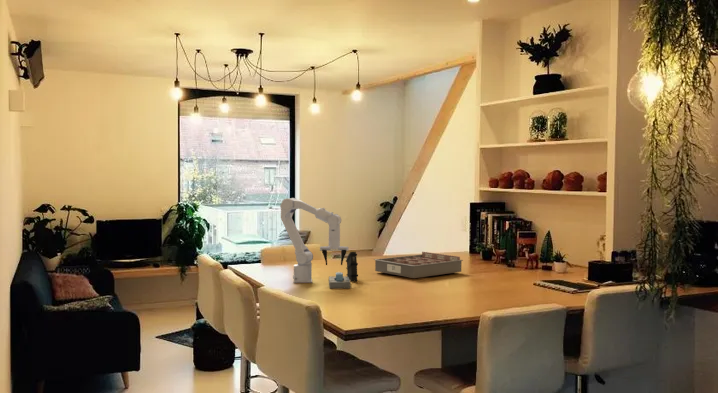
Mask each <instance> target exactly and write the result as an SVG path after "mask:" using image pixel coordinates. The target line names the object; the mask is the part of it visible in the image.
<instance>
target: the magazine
mask: <svg viewBox="0 0 718 393" xmlns="http://www.w3.org/2000/svg"><path fill="white" fill-rule="evenodd" d="M357 256H358V253H357V251H350V252H349V254H348V255H347V256H346V259H345V262H346V267H345V268H346V271H347V273H346V276H348V277H349V280H350V282H358V277H359V274H358V264H359V263H358V262H357V261H358V260H357V258H358V257H357Z"/></svg>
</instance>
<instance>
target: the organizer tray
mask: <svg viewBox="0 0 718 393" xmlns="http://www.w3.org/2000/svg"><path fill="white" fill-rule="evenodd" d="M373 260H374V262H375V266H374V267H375V268H374V269H375V270H374V271H375V272H377V273H378V272H379V273H384V274H389V275H396V276H401V277H405V278H412V279H416V278H424V277H434V276H439V275H445V274H453V273H460V272H462V261H464V260H463V259H461V256H457V255H449V254H444V253H437V252H436V253H435V252H428V251H422V252H421V254H415V255H414V254H413V255H403V256H396V257H395V256H393V257H385V258H375V259H373Z"/></svg>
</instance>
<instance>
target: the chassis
mask: <svg viewBox="0 0 718 393" xmlns="http://www.w3.org/2000/svg"><path fill="white" fill-rule="evenodd" d="M328 286H329V289H332V290H333V289H335V290H336V289H339V290H340V289H342V290H343V289H351V281H350V280H349V277H348V276H347V275H346V276H345V275H343V281H336V275H335V276H331V275H330V276H328Z"/></svg>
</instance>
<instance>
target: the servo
mask: <svg viewBox="0 0 718 393" xmlns="http://www.w3.org/2000/svg"><path fill="white" fill-rule="evenodd" d="M335 276H336V281H343V276H344V274H343V272H341V271H337V272H335Z"/></svg>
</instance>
